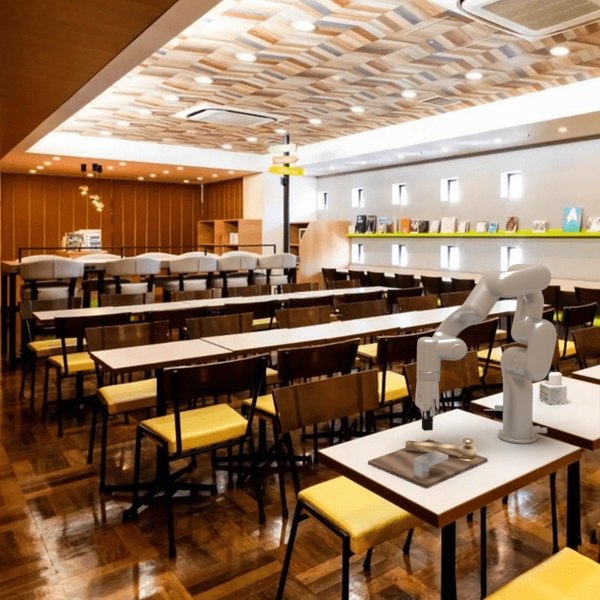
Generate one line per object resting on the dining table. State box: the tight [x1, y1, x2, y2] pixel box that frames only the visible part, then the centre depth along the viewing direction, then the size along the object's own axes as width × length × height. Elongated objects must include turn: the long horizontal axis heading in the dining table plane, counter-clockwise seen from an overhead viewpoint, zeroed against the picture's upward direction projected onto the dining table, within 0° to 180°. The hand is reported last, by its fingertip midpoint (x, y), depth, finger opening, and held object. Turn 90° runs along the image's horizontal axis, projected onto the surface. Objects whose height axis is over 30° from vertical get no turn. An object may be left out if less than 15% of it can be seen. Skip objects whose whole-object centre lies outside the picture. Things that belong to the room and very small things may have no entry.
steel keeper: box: [414, 450, 448, 480], centre depth 162 cm, size 10×5×5 cm, turn 128°
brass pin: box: [457, 437, 479, 462], centre depth 173 cm, size 6×6×6 cm
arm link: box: [405, 440, 477, 458], centre depth 176 cm, size 22×5×2 cm, turn 68°
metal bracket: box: [483, 404, 503, 412], centre depth 218 cm, size 14×6×15 cm
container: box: [539, 370, 568, 405], centre depth 232 cm, size 8×8×13 cm
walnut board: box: [367, 438, 488, 489], centre depth 172 cm, size 29×23×1 cm
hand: (427, 429), depth 183 cm, fingers closed
